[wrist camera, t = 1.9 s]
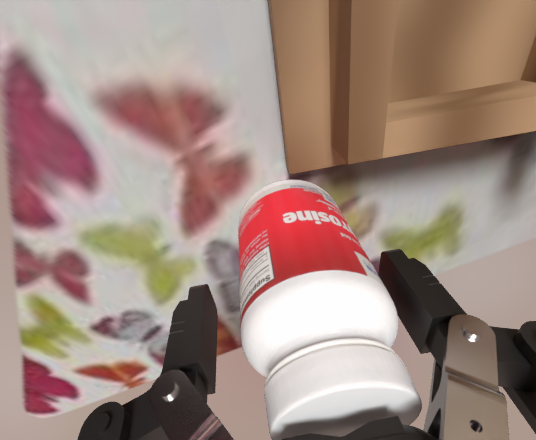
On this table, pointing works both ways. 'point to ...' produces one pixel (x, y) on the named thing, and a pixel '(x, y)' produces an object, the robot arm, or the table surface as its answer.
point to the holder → (400, 76)
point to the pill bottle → (317, 317)
